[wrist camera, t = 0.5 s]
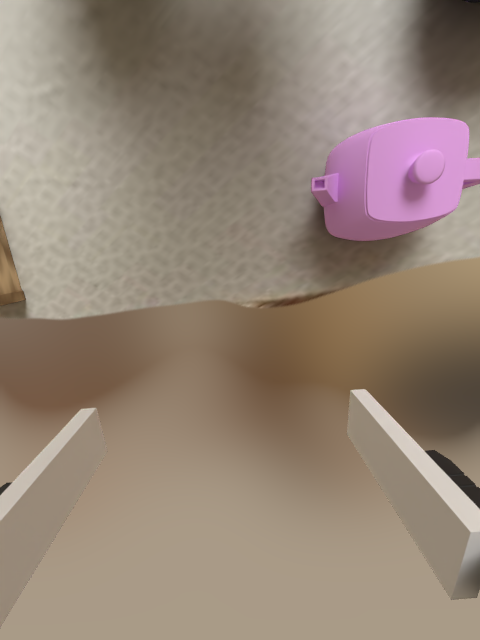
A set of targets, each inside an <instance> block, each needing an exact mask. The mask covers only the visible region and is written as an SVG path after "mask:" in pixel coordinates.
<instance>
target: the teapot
mask: <svg viewBox="0 0 480 640" xmlns="http://www.w3.org/2000/svg"><path fill="white" fill-rule="evenodd" d="M468 146H469V127H468V125H467V124H466V123H465V122H462V121H460V120H456V119H450V118H414V119H407V120H402V121H397V122H392V123H388V124H384V125H380V126H377V127H373V128H370V129H367V130H364V131H362V132H359V133H357V134H355V135H353V136H351V137H349V138H347V139H346V140H344V141H343V142H341V143H340V144H338V145H337V146H336V147H335V148H334V149H333V150H332V151H331V152H330V154H329V156H328V159H327V162H326V169H325V176H322V177H317V178H312V180H311V192H312V194H313V195H314V196H315V198H316V199H317V200H318V202H319V203H320V204H321V205H322V207H324V217H325V225H326V228H327V230H328V232H329V233H330V234H331V235H333V236H335V237H338V238H342V239H348V240H356V241H372V240H381V239H387V238H392V237H396V236H399V235H403V234H406V233H409V232H413V231H416V230H418V229H421V228H423V227H426V226H428V225H430V224H432V223H434V222H436V221H438V220H440V219H441V218H443V217H445V216H447V215H448V214H450V213H451V212H453V211H454V210H455V209H456V208H457V206H458V204H459V200H460V197H461V192H462V189H464V188H468V187H471V186H474V185H477V184H480V158H469V159H467V154H468Z"/></svg>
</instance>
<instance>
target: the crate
mask: <svg viewBox="0 0 480 640" xmlns="http://www.w3.org/2000/svg"><path fill="white" fill-rule="evenodd" d="M23 300H26V299H25V296H24V292H23V291H22V290H21V287H20V283H19V280H18V276H17V273H16V269H15V266H14V262H13V259H12V255H11V252H10V248H9V245H8V241H7V238H6V234H5V231H4V227H3V224H2V220H1V217H0V306H2V305H6V304H10V303H14V302H19V301H23Z"/></svg>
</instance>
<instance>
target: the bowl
mask: <svg viewBox="0 0 480 640" xmlns="http://www.w3.org/2000/svg"><path fill="white" fill-rule="evenodd" d="M464 1H467V2H470V3H471V2H480V0H464Z"/></svg>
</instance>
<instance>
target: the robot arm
mask: <svg viewBox="0 0 480 640" xmlns="http://www.w3.org/2000/svg"><path fill="white" fill-rule="evenodd" d="M347 434H348V436H349V438H350V439H351V441H352V443H353V444H354V446H355V447H356V449H357V451H358V452H359V454H360V455H361V457H362V459H363V460H364V462H365V463H366V465H367V466H368V468H369V470H370V471H371V473H372V474H373V476H374V478H375V479H376V481H377V483H378V484H379V486H380V487H381V489H382V490H383V492H384V494H385V495H386V497H387V499H388V500H389V502H390V503H391V505H392V507H393V508H394V510H395V511H396V513H397V515H398V516H399V518H400V519H401V521H402V522H403V524H404V526H405V527H406V529H407V530H408V532H409V534H410V535H411V537H412V538H413V540H414V541H415V543H416V545H417V546H418V548H419V550H420V551H421V553H422V554H423V556H424V558H425V559H426V561H427V562H428V564H429V566H430V567H431V569H432V570H433V572H434V573H435V575H436V577H437V578H438V580H439V581H440V583H441V585H442V586H443V588H444V590H445V591H446V593H447V594H448V596H449V597H450V599H451V600H455V599H467V598H477V596H478V593H479V590H480V488H479V487H476V485H475V483H473V482H472V481H471V480H470V479H469V478H468V477H467V476H465V475H464V473H463V472H462V471H461V470H460V469H459V468H458V467H457V466H456V465H455V464H454V463H453V462H452V461H451V460H449V459H448V458H446V457H444V456H443V455H441V454H440V453H438V452H437V451H435V450H429V451H424V450H423V449H422V448H421V447H420V446H419V445H418V444H417V443H416V442H415V441H414V440H413V439H412V438H411V437H410V436H409V435H408V434H407V433H406V431H404V429H403V428H401V426H400V425H399V424H398V423H397V422H396V421H395V420H394V419H393V418H392V417H391V416H390V415H389V414H388V413H387V412H386V411H385V410H384V408H383V407H382V406H381V405H380V404H379V403H378V402H377V401H376V400H375V399H374V398H373V397H372V396H371V395H370V394H369V393H368V392H367V391H366V390H365V389H362V390H351V392H350V405H349V416H348V429H347ZM106 453H107V447H106V443H105V439H104V435H103V431H102V428H101V424H100V420H99V416H98V412H97V408H89V409H81V410H80V411H79V412H78V413H77V414H76V415H75V416H74V417H73V418H72V420H71V421H70V422H69V423H68V424H67V425H66V426H65V427H64V428H63V429H62V430H61V431H60V432H59V434H57V435H56V437H55V438H54V439H53V440H52V441H51V442H50V443H49V444H48V445H47V446H46V447H45V448H44V450H42V451H41V453H40V454H39V455H38V456H37V457H36V458H35V459H34V460H33V461H32V462H31V463H30V464H29V465H28V467H27V468H26V469H25V470H24V471H23V472H22V473H21V474H20V475H19V476H18V477H17V478H16V479H15V480H14V482H11V483H6V484H5V485H3V486H2V487H0V627H1V626H2V624H3V622H4V621H5V619H6V617H7V616H8V614H9V612H10V611H11V609H12V608H13V606H14V604H15V603H16V601H17V599H18V598H19V596H20V594H21V593H22V591H23V589H24V588H25V586H26V585H27V583H28V581H29V580H30V578H31V576H32V574H33V573H34V571H35V570H36V568H37V567H38V565H39V563H40V562H41V560H42V558H43V557H44V555H45V553H46V551H47V550H48V548H49V547H50V545H51V544H52V542H53V540H54V539H55V537H56V535H57V533H58V532H59V530H60V529H61V527H62V526H63V524H64V522H65V521H66V519H67V517H68V516H69V514H70V512H71V511H72V509H73V508H74V506H75V504H76V502H77V501H78V499H79V498H80V496H81V494H82V493H83V491H84V489H85V488H86V486H87V484H88V483H89V481H90V479H91V478H92V476H93V475H94V473H95V471H96V469H97V468H98V467H99V465H100V463H101V461H102V460H103V458H104V456H105V455H106Z"/></svg>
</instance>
